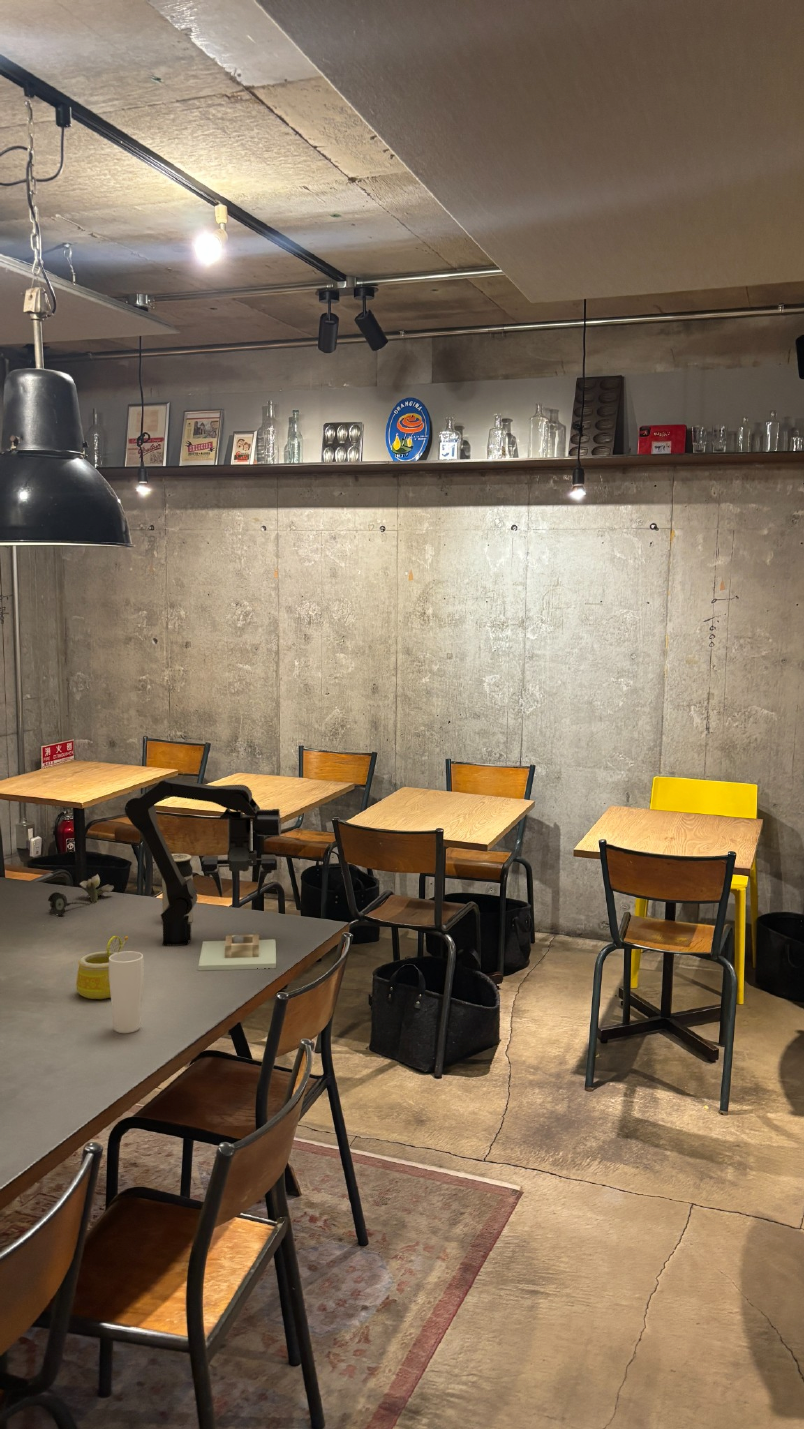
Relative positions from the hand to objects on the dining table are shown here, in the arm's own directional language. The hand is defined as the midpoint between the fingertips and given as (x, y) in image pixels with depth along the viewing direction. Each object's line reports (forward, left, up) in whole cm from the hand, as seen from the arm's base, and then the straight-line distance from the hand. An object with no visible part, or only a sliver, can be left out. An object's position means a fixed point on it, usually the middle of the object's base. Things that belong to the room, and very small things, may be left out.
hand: (239, 896), depth 261 cm
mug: (-28, -32, -12) cm, 44 cm away
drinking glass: (-21, -53, -12) cm, 58 cm away
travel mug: (-17, +19, -12) cm, 28 cm away
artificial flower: (-46, +38, -12) cm, 61 cm away
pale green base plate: (0, -11, -12) cm, 16 cm away
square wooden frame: (+1, -11, -11) cm, 15 cm away
